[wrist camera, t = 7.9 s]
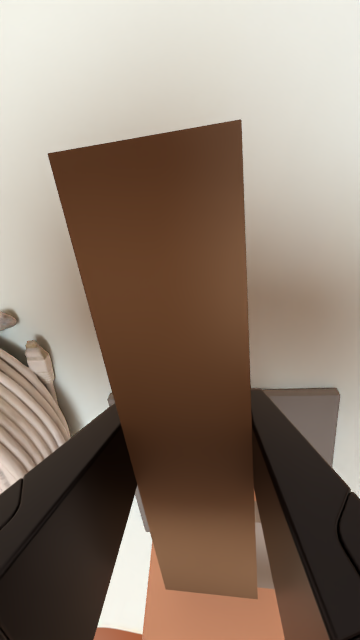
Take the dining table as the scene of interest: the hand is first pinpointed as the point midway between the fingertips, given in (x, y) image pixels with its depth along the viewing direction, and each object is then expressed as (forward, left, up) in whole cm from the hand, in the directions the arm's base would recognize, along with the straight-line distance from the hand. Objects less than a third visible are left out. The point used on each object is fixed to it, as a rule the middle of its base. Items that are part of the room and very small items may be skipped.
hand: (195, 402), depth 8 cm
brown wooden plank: (0, +2, -1) cm, 2 cm away
